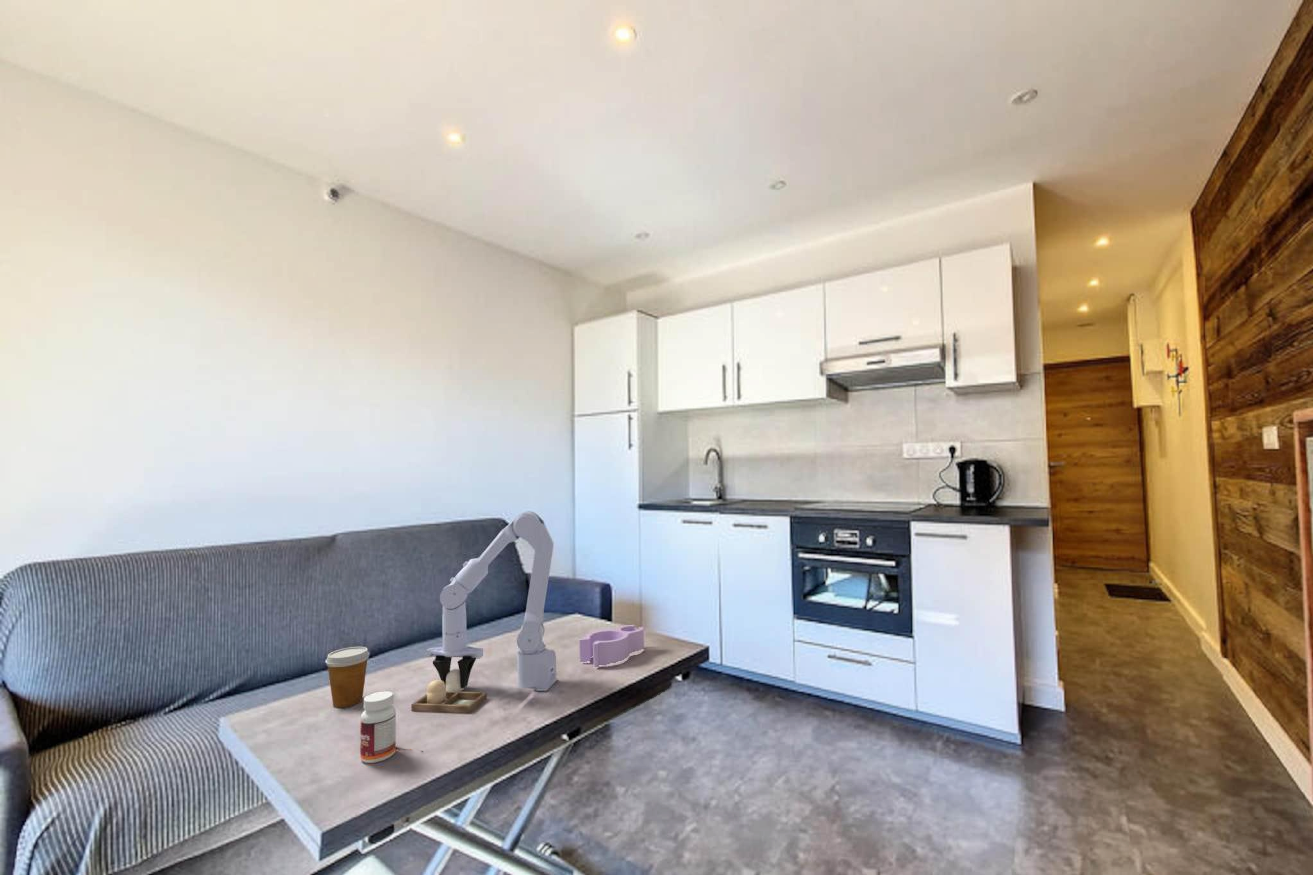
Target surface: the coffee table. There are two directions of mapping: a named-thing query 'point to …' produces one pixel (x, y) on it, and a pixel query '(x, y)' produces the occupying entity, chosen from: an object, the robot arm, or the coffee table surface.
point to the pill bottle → (378, 728)
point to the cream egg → (453, 681)
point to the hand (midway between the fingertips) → (455, 686)
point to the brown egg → (436, 692)
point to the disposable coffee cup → (347, 675)
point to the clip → (611, 645)
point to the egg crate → (451, 698)
